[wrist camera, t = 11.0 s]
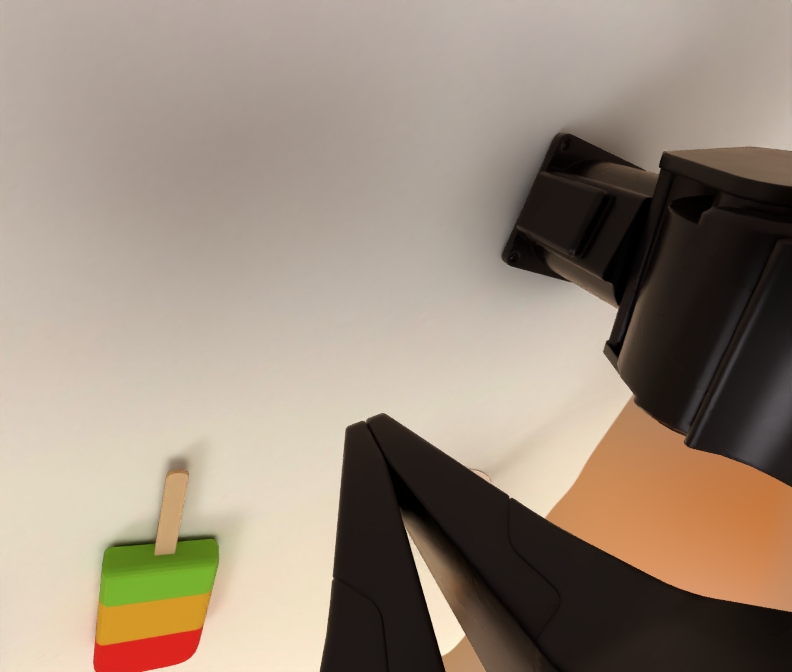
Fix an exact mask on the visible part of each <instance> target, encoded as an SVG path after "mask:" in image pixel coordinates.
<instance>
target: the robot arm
mask: <svg viewBox="0 0 792 672" xmlns="http://www.w3.org/2000/svg"><path fill="white" fill-rule="evenodd" d="M564 141H565V146H564V148H563V149H562V144H563V142H564ZM659 168H661V170H660V174H656V173H652V172H648V171H646V170H644V169H642V168H640V167H638V166H636V165H634V164H631V163H629V162H627V161H625V160H623V159H621V158H619V157H617V156H615V155H613V154H611V153H609V152H607V151H605V150H603V149H601V148H599V147H596V146H594V145H592V144H590V143H588V142H586V141H584V140H582V139H580V138H578V137H576V136H574V135H572V134H567V133H560V134H558V135H557V136H556V137H555V139H554V140H553V142H552V144H551V146H550V149H549V151H548V153H547V155H546V158H545V160H544V162H543V164H542V167H541V169H540V171H539V173H538V175H537V178H536V180H535V182H534V184H533V187H532V189H531V191H530V193H529V195H528V198H527V200H526V202H525V204H524V207H523V209H522V211H521V213H520V215H519V218H518V220H517V222H516V224H515V227H514V229H513V231H512V233H511V235H510V238H509V240H508V242H507V244H506V247H505V249H504V251H503V254H502V260H503V261H504V262H505V263H506V264H508V265H510V266H512V267H516V268H520V269H523V270H527V271H531V272H535V273H538V274H542V275H546V276H550V277H553V278H557V279H561V280H565V281H568V282H572V283H575V284H576V285H578V286H580V287H581V288H583V289H585V290H586V291H588V292H590V293H592V294H593V295H595V296H597V297H598V298H600V299H602V300H603V301H605V302H607V303H608V304H610V305H612V306H614V307H615V308H617V309H618V312H617V315H616V319H615V322H614V325H613V329H612V332H611V335H610V339H609V340H608V341H606V344H605V347H604V351H603V352H604V354H605V355H606V357H607V358H608V360H609V361H610V362H611V364H612V365H613V366H614V368H615V369H616V370H617V372H618V373H619V375H620V377H621V378H622V380H623V381H624V382H625V383H626V384H627V386H628V387H629V388H630V390H631V391H632V392H633V394H634V395H635V397H634V402H635V404H636V405H637V406H638V407H639V408H640V409H641V410H643V411H644V412H645V413H647V414H648V415H650V416H651V417H652V418H654V419H655V420H657V421H658V422H659V423H661V424H662V425H664V426H666V427H667V428H669V429H671V430H672V431H675V432H677V433H679V434H682V435H684V436H686V438H685V440H684V444H685V445H686V446H688V447H689V448H692V449H696V450H701V451H705V452H709V453H714V454H718V455H722V456H724V457H727V458H730V459H733V460H736V461H738V462H741V463H744V464H746V465H749V466H751V467H754V468H756V469H758V470H760V471H762V472H764V473H766V474H768V475H770V476H772V477H774V478H776V479H778V480H779V481H782V482H783V483H785V484H787V485H789V486H791V487H792V151H787V150H778V149H769V148H760V147H733V148H715V149H697V150H679V151H664V152H663V154H662V157H661V160H660V164H659ZM514 252H515V254H514V256H513V258H511V255H512V254H513V253H514ZM510 258H511V259H510ZM404 525H405V526H404ZM405 527H406V529H407V531H408V533H409V534H410V536H411V538H412V540H413V542H414V543H415V545H416V547H417V549H418V550H419V552H420V554H421V556H422V558H423V559H424V561H425V563H426V565H427V566H428V568H429V570H430V572H431V574H432V575H433V577H434V579H435V581H436V583H437V584H438V586H439V588H440V590H441V591H442V593H443V595H444V597H445V599H446V600H447V602H448V604H449V606H450V608H451V609H452V611H453V613H454V615H455V616H456V618H457V620H458V622H459V624H460V625H461V627H462V629H463V631H464V632H465V634H466V636H467V638H468V639H469V641H470V643H471V645H472V647H473V648H474V650H475V652H476V654H477V656H478V657H479V659H480V661H481V663H482V665H483V666H484V668H485V670H486V672H792V612H788V611H783V610H777V609H771V608H766V607H760V606H754V605H748V604H743V603H737V602H732V601H726V600H720V599H714V598H710V597H705V596H701V595H698V594H694V593H691V592H688V591H685V590H682V589H679V588H677V587H674V586H672V585H669V584H667V583H665V582H663V581H661V580H659V579H657V578H655V577H653V576H651V575H649V574H647V573H645V572H643V571H641V570H639V569H637V568H635V567H633V566H631V565H630V564H628V563H626V562H624V561H622V560H620V559H618V558H616V557H614V556H612V555H610V554H608V553H606V552H605V551H603V550H601V549H599V548H597V547H595V546H593V545H591V544H589V543H587V542H585V541H583V540H582V539H580V538H578V537H576V536H574V535H572V534H571V533H569V532H567V531H565V530H563V529H561V528H560V527H558V526H556V525H554V524H553V523H551V522H549V521H548V520H546V519H545V518H543V517H541V516H540V515H538V514H537V513H535V512H533V511H532V510H530V509H528V508H527V507H526V506H524V505H523V504H521V503H520V502H518V501H517V500H515V499H514V498H510V499H509V496H508V495H507V494H506V493H504V492H503V491H501V490H500V489H498V488H497V487H495V486H494V485H492V484H491V483H489V482H488V481H486V480H485V479H483V478H482V477H480V476H479V475H477V474H476V473H474V472H473V471H471V470H470V469H468V468H467V467H465V466H464V465H462V464H460V463H459V462H457V461H456V460H454V459H453V458H451V457H450V456H448V455H447V454H445V453H444V452H442V451H441V450H439V449H438V448H436V447H435V446H433V445H432V444H430V443H429V442H427V441H426V440H424V439H423V438H421V437H420V436H418V435H417V434H415V433H414V432H412V431H411V430H409V429H408V428H406V427H405V426H403V425H402V424H400V423H399V422H397V421H396V420H394V419H393V418H391V417H390V416H388V415H387V414H384V413H381V414H378V415H376V416H373V417H371V418H368V419H367V420H366V422H365V421H360V422H358V423H355V424H352V425H350V426H348V427H347V428H346V431H345V443H344V454H343V465H342V477H341V488H340V500H339V511H338V523H337V534H336V545H335V557H334V568H333V578H334V579H333V580H332V588H331V600H330V608H329V617H328V625H327V633H326V639H325V645H324V651H323V656H322V662H321V667H320V672H445V668H444V665H443V661H442V657H441V654H440V650H439V647H438V643H437V639H436V636H435V632H434V629H433V625H432V622H431V618H430V615H429V611H428V607H427V604H426V600H425V597H424V593H423V590H422V586H421V583H420V579H419V575H418V572H417V568H416V565H415V561H414V558H413V554H412V551H411V547H410V543H409V540H408V536H407V533H406V529H405Z"/></svg>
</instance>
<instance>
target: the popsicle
mask: <svg viewBox="0 0 792 672" xmlns="http://www.w3.org/2000/svg"><path fill="white" fill-rule="evenodd" d="M188 474H189V473H188V472H187V471H186V470H181V469H178V470H172V471H170V472H168V474H167V476H166V482H165V488H164V495H163V501H162V507H161V513H160V520H159V526H158V532H157V539H156V544H144V545H133V546H121V547H110V548H107V549H106V551H105V554H104V558H103V564H102V574H101V584H100V595H99V605H98V616H97V627H96V637H95V648H94V659H93V664H94V669H95V671H96V672H143V671H148V670H153V669H158V668H163V667H168V666H172V665H176V664H179V663H182V662H184V661H186V660H188V659H189V658H190V657H192V655H193V654H194V653H195V652H196V649H197V647H198V645H199V642H200V638H201V633H202V629H203V625H204V621H205V617H206V613H207V609H208V604H209V600H210V596H211V592H212V588H213V584H214V580H215V576H216V571H217V567H218V563H219V547H218V543H217V541H216V540H214V539H203V540H191V541H179V542H177V539H178V533H179V528H180V523H181V517H182V512H183V506H184V501H185V495H186V490H187V485H188Z"/></svg>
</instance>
